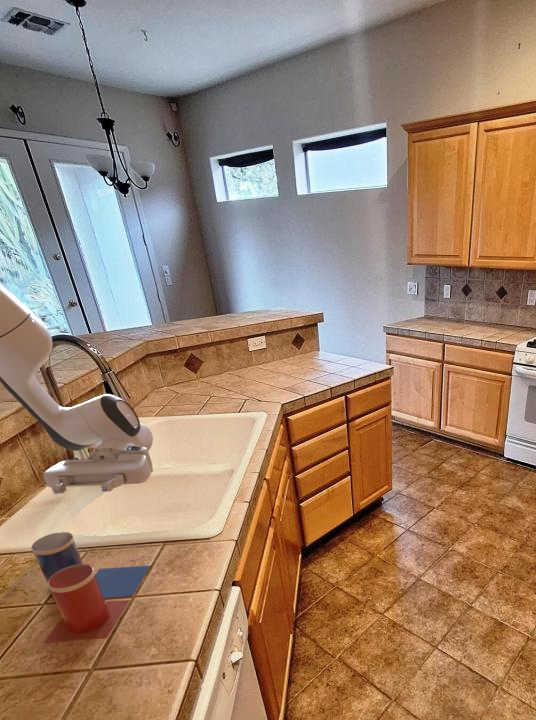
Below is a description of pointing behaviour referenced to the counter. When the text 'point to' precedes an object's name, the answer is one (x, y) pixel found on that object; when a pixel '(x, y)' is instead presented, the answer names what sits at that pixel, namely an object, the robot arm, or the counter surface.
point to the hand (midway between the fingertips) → (81, 489)
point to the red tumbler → (79, 598)
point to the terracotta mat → (102, 631)
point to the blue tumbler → (56, 553)
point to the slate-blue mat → (120, 580)
